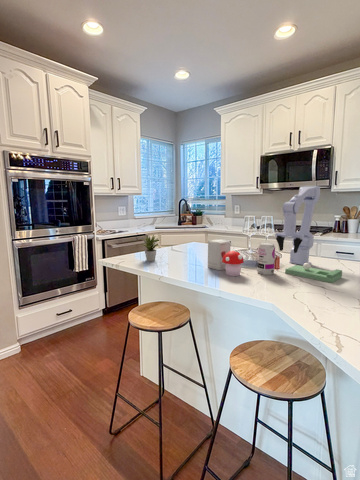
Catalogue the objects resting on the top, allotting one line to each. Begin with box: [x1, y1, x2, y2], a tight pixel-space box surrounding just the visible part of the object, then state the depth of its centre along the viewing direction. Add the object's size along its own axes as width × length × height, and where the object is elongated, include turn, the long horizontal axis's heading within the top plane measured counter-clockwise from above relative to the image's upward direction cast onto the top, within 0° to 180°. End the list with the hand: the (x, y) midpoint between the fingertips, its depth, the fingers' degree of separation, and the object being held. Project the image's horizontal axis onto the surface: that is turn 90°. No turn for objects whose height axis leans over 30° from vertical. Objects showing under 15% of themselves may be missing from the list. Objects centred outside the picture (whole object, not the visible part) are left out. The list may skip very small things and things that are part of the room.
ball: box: [302, 263, 312, 270], centre depth 136 cm, size 4×4×4 cm
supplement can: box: [256, 242, 276, 276], centre depth 138 cm, size 8×8×15 cm
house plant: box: [140, 234, 162, 262], centre depth 166 cm, size 14×14×16 cm
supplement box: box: [207, 238, 232, 271], centre depth 149 cm, size 9×9×15 cm
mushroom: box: [222, 249, 245, 277], centre depth 136 cm, size 11×11×12 cm
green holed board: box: [284, 264, 343, 284], centre depth 134 cm, size 22×12×4 cm, turn 42°
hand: (288, 251), depth 142 cm, fingers open, 7 cm apart
